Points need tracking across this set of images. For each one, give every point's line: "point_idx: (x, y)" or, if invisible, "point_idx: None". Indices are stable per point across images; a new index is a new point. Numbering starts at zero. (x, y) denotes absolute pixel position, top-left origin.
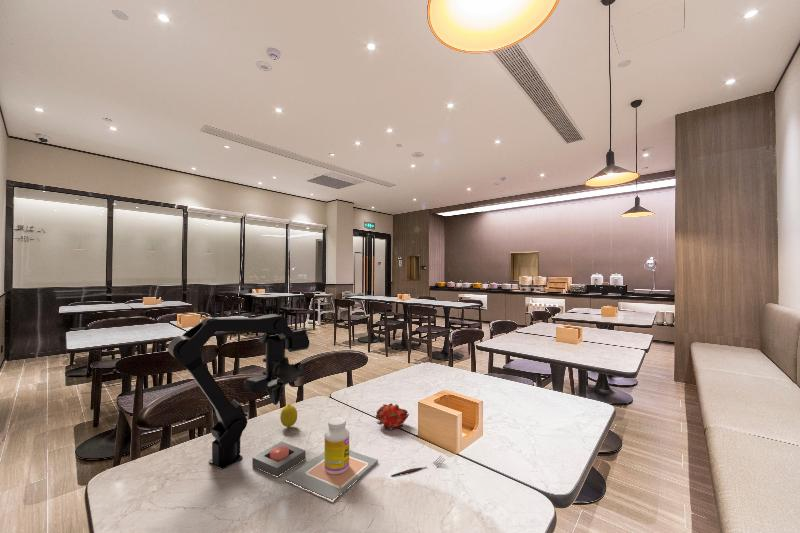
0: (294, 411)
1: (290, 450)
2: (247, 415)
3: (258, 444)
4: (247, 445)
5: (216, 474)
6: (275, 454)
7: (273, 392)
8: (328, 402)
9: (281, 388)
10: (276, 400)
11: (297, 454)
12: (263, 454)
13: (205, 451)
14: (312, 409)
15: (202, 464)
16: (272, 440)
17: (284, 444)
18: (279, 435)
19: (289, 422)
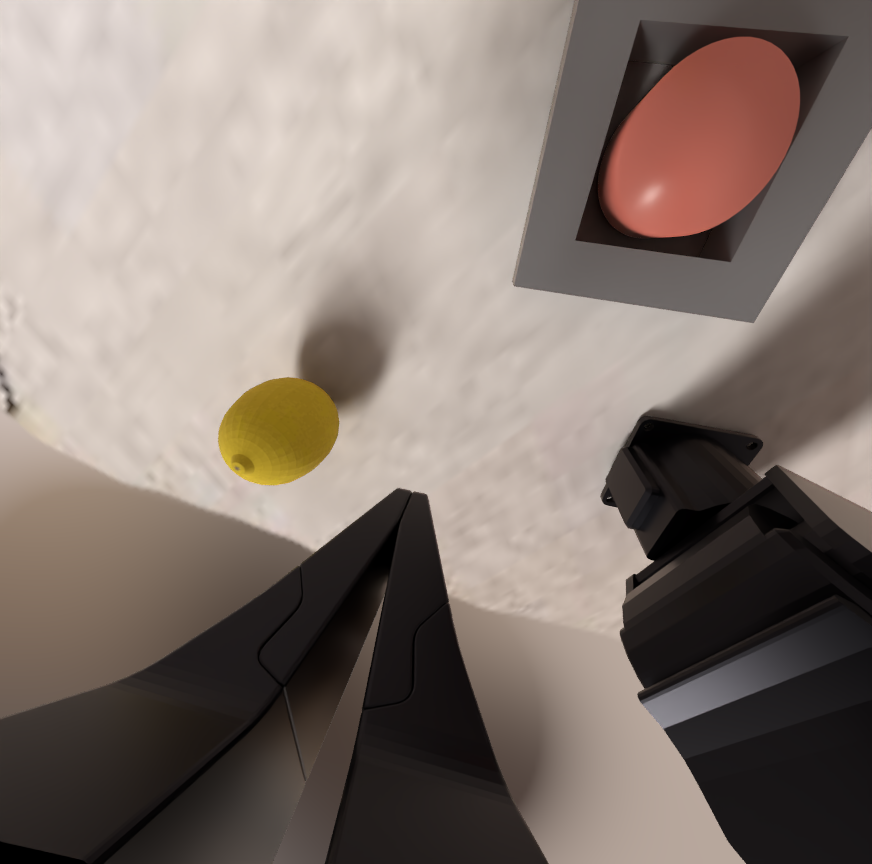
0: (251, 405)
1: (614, 103)
2: (840, 599)
3: (502, 430)
4: (525, 467)
5: (803, 431)
6: (774, 131)
7: (472, 699)
8: (42, 381)
9: (242, 666)
10: (413, 524)
11: None
12: (709, 276)
13: (609, 570)
14: (139, 408)
15: None
16: (447, 394)
17: (546, 229)
18: (395, 394)
19: (319, 393)
